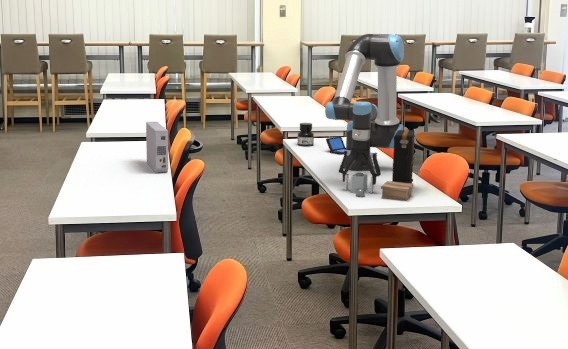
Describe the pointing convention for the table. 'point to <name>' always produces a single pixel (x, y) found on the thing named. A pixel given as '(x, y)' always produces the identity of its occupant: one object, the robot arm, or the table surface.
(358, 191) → the dark grey metallic dome
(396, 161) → the black carrying case
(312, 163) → the table surface
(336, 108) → the robot arm
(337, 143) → the handheld game console
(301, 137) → the ink bottle
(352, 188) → the housing
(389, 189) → the stand
